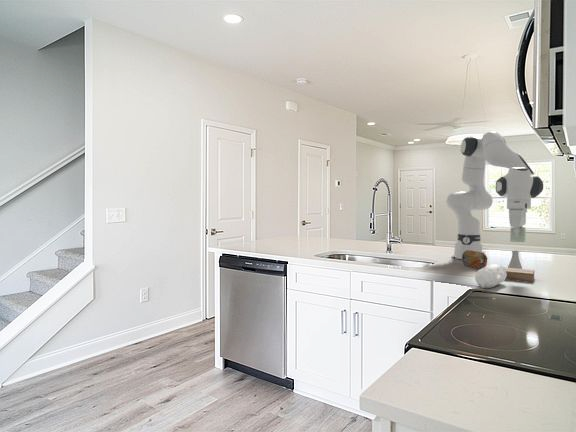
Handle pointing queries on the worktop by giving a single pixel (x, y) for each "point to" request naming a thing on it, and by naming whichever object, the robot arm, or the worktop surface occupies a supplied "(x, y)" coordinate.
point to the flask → (515, 260)
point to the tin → (474, 259)
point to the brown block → (520, 274)
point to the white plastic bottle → (490, 276)
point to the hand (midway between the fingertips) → (517, 236)
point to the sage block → (521, 237)
